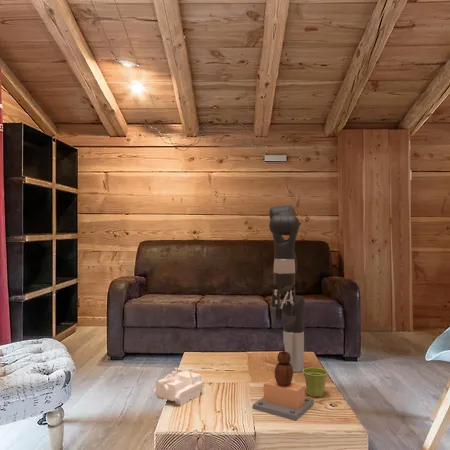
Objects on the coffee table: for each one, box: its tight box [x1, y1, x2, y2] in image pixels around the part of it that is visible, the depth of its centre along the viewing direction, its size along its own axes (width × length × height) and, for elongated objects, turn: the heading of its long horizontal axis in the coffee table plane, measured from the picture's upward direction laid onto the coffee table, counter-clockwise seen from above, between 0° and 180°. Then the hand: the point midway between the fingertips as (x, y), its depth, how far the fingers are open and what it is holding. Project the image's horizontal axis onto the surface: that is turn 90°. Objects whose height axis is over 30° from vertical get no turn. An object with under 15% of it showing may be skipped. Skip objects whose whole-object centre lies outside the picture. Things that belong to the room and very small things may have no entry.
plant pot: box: [302, 367, 329, 398], centre depth 151 cm, size 9×9×9 cm
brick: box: [263, 377, 306, 409], centre depth 140 cm, size 6×13×6 cm, turn 57°
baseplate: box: [252, 396, 315, 421], centre depth 139 cm, size 16×16×2 cm
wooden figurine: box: [274, 345, 294, 386], centre depth 140 cm, size 7×6×15 cm
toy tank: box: [153, 367, 205, 405], centre depth 146 cm, size 12×20×10 cm, turn 147°
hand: (284, 317), depth 141 cm, fingers open, 8 cm apart
